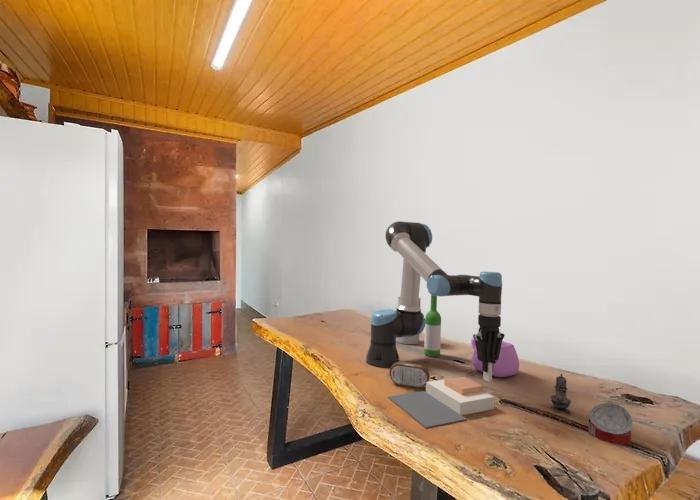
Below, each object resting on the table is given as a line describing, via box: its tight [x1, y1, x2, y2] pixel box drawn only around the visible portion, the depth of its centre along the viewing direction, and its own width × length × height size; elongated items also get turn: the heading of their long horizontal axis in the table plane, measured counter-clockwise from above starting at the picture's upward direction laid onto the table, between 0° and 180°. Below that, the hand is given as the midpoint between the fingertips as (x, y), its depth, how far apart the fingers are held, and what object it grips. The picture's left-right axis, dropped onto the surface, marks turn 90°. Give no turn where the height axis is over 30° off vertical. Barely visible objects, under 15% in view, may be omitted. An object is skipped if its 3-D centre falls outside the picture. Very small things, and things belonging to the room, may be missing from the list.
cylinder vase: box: [396, 296, 422, 345], centre depth 196 cm, size 12×12×25 cm
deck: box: [425, 379, 495, 416], centre depth 119 cm, size 18×14×4 cm
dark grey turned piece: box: [550, 373, 572, 415], centre depth 115 cm, size 6×6×12 cm
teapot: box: [470, 337, 520, 378], centre depth 150 cm, size 23×21×15 cm
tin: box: [389, 361, 431, 389], centre depth 131 cm, size 15×3×8 cm, turn 71°
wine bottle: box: [423, 294, 442, 358], centre depth 172 cm, size 8×8×30 cm
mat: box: [387, 390, 468, 429], centre depth 112 cm, size 22×15×1 cm
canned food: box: [587, 402, 634, 446], centre depth 99 cm, size 11×10×10 cm
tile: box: [443, 376, 484, 395], centre depth 120 cm, size 9×9×2 cm
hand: (487, 380), depth 124 cm, fingers closed
